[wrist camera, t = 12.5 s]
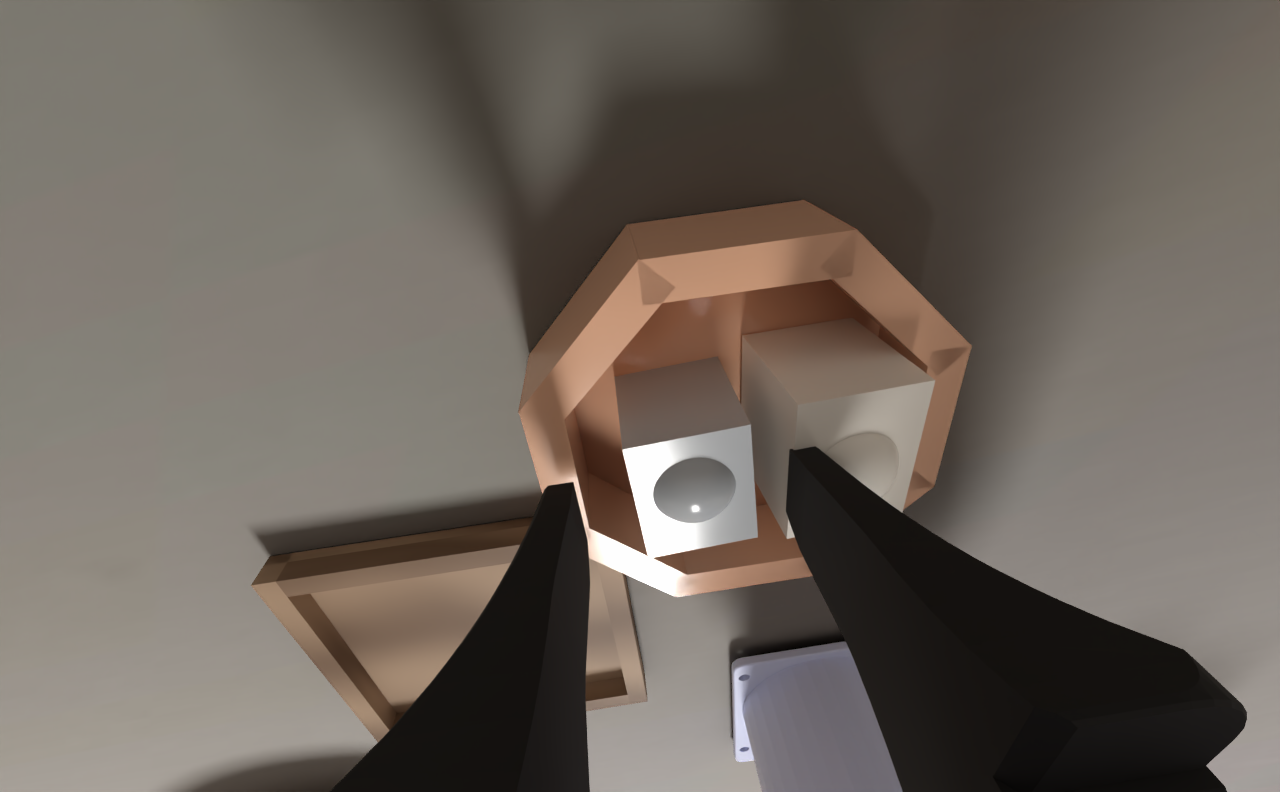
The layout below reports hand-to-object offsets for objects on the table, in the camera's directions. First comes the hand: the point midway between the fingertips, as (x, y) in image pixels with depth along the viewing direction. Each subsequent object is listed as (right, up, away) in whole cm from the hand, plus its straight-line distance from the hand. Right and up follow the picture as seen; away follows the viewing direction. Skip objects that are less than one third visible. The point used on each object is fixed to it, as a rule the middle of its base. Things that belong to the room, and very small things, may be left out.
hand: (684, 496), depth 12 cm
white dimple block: (+3, +3, +3) cm, 5 cm away
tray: (-7, -7, +9) cm, 13 cm away
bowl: (+1, +2, +4) cm, 5 cm away
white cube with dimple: (0, +2, +3) cm, 4 cm away
